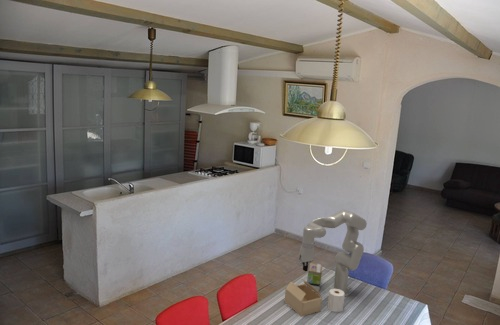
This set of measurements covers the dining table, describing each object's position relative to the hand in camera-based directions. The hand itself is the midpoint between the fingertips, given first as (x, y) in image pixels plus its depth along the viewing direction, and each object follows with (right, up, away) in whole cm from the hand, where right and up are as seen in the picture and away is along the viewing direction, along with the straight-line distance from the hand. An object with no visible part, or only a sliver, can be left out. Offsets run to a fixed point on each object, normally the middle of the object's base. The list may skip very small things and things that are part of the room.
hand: (305, 270), depth 270 cm
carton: (-1, -26, +5) cm, 27 cm away
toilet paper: (+22, -28, +6) cm, 36 cm away
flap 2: (+5, -14, +6) cm, 16 cm away
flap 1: (-6, -14, 0) cm, 15 cm away
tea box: (+11, -21, +36) cm, 43 cm away
